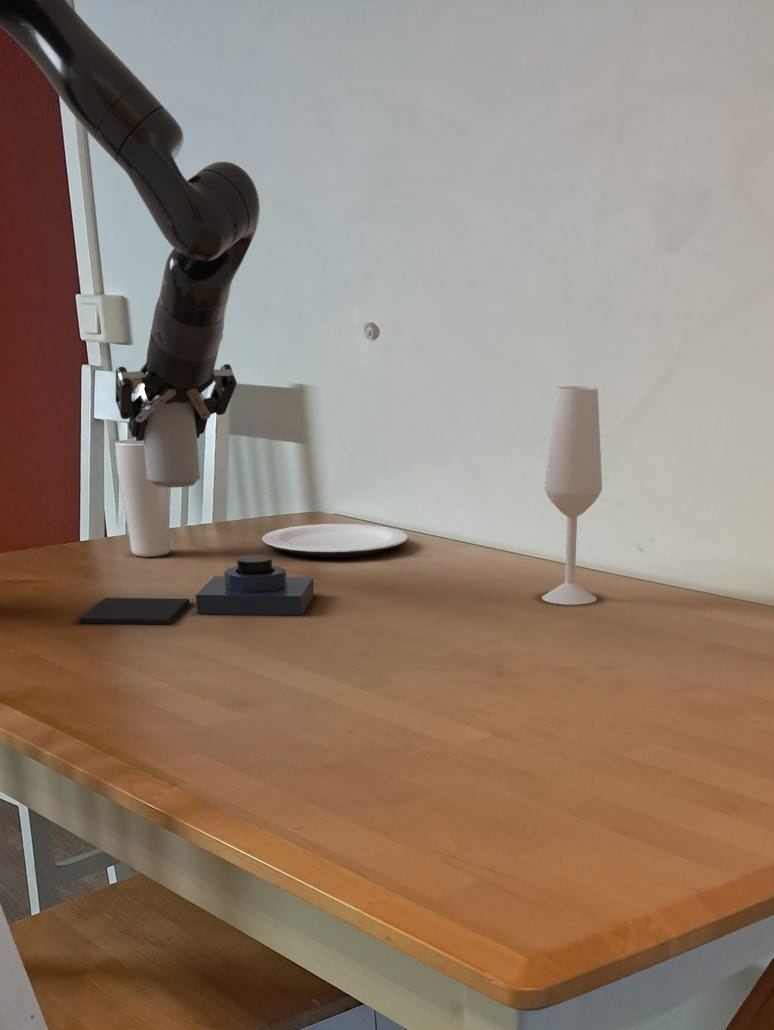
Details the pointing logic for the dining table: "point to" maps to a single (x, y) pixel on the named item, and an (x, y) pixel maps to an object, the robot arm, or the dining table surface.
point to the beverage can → (172, 446)
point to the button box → (255, 594)
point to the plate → (335, 540)
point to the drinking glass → (142, 502)
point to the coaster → (135, 611)
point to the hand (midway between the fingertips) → (165, 433)
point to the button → (254, 565)
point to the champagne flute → (573, 474)
